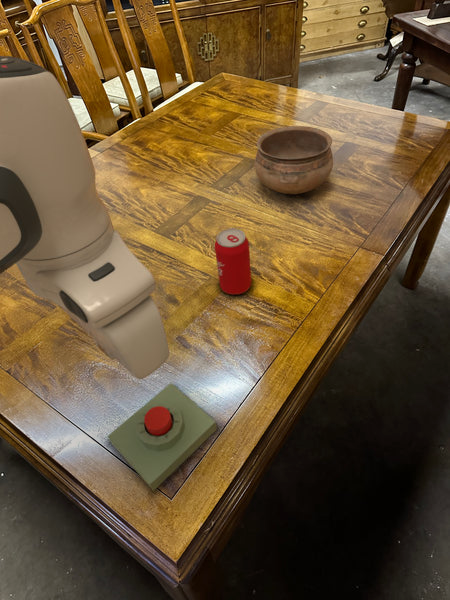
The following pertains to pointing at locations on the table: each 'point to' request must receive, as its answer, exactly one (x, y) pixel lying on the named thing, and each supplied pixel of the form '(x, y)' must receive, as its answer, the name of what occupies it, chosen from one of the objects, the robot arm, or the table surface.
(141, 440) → the button housing
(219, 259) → the beverage can
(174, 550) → the table surface
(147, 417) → the button
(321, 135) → the cooking pot
